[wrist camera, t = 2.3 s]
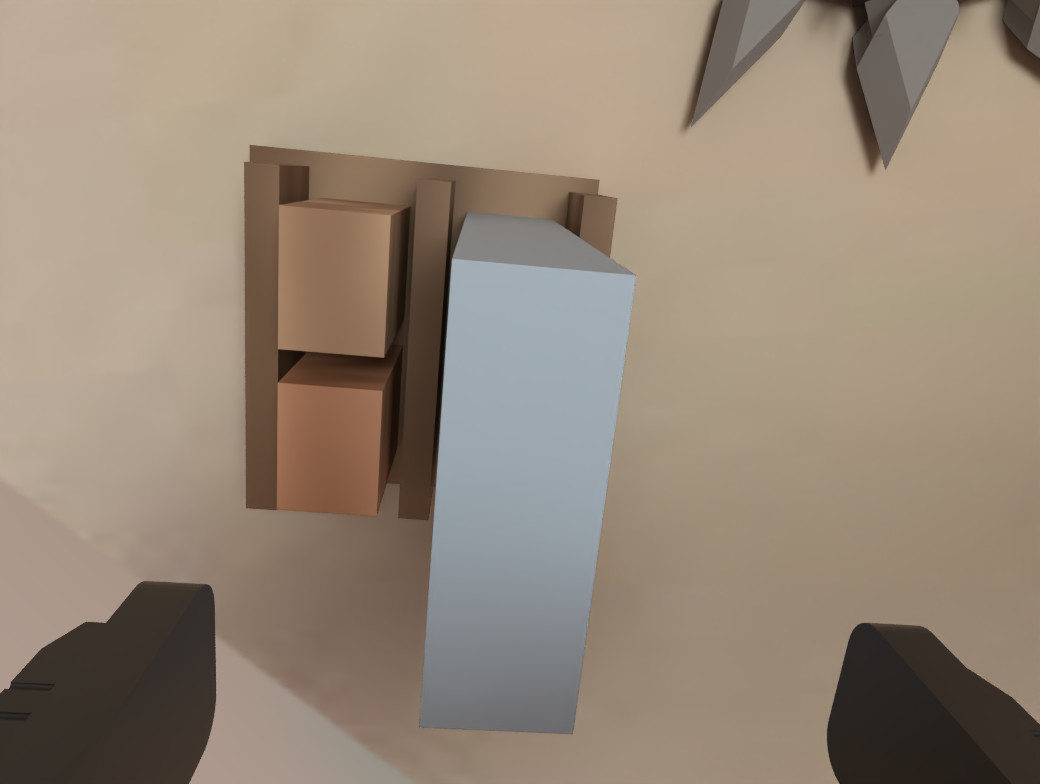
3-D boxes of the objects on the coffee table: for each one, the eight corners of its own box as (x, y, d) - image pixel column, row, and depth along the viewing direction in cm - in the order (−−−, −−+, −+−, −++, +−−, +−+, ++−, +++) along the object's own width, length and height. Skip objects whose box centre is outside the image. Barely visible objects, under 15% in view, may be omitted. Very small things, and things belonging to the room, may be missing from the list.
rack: (593, 179, 28) (619, 181, 22) (557, 479, 31) (573, 542, 26) (261, 146, 27) (208, 140, 22) (261, 459, 30) (215, 519, 25)
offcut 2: (402, 345, 28) (382, 390, 22) (397, 447, 29) (376, 515, 23) (320, 338, 27) (277, 382, 22) (317, 441, 29) (277, 509, 23)
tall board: (552, 219, 27) (636, 275, 12) (527, 456, 29) (572, 733, 15) (467, 211, 26) (451, 258, 12) (450, 451, 29) (419, 727, 15)
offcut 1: (410, 206, 26) (391, 215, 20) (404, 318, 27) (384, 357, 22) (323, 197, 26) (278, 205, 20) (320, 311, 27) (277, 349, 21)
